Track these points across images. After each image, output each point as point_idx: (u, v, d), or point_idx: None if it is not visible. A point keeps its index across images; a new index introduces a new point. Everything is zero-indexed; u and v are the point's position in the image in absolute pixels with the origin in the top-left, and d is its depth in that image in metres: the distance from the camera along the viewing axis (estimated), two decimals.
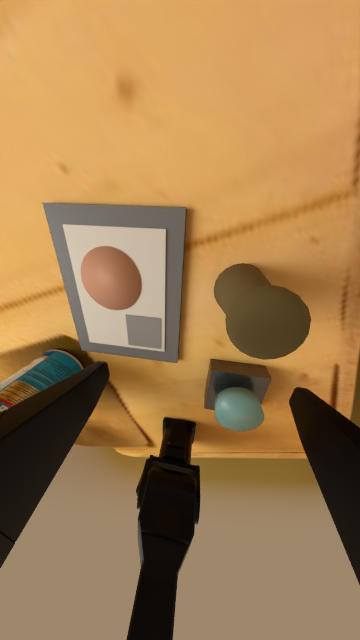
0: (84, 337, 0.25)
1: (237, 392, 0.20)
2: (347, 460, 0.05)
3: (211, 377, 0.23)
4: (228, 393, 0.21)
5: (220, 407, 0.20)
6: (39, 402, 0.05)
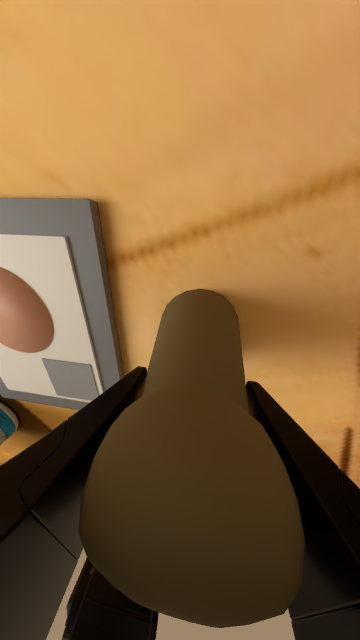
0: (1, 383, 0.18)
1: None
2: None
3: None
4: None
5: None
6: (97, 412, 0.05)
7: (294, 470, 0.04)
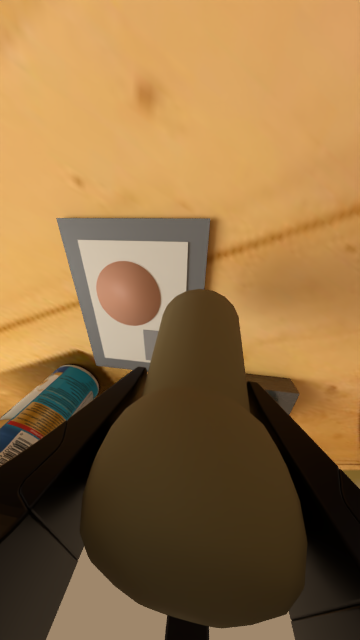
0: (100, 353, 0.24)
1: None
2: None
3: None
4: None
5: None
6: (97, 412, 0.05)
7: (294, 470, 0.04)
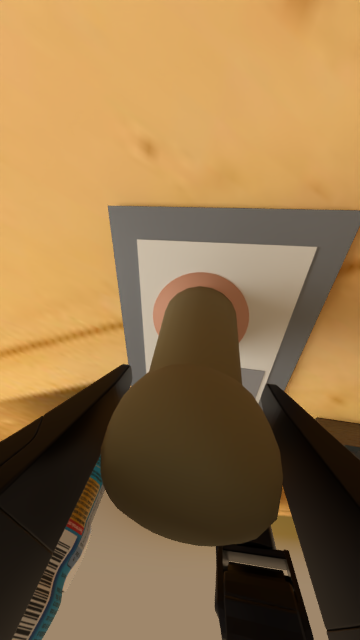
0: None
1: None
2: (301, 452, 0.05)
3: None
4: None
5: None
6: (74, 408, 0.05)
7: (329, 476, 0.04)
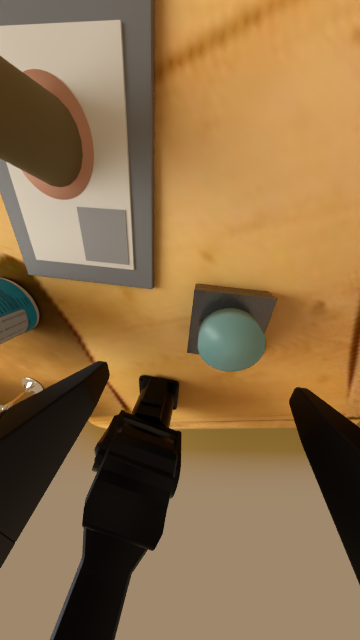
0: (29, 253, 0.19)
1: (229, 311, 0.14)
2: (347, 460, 0.05)
3: (195, 301, 0.17)
4: (216, 314, 0.15)
5: (205, 332, 0.14)
6: (39, 402, 0.05)
7: None
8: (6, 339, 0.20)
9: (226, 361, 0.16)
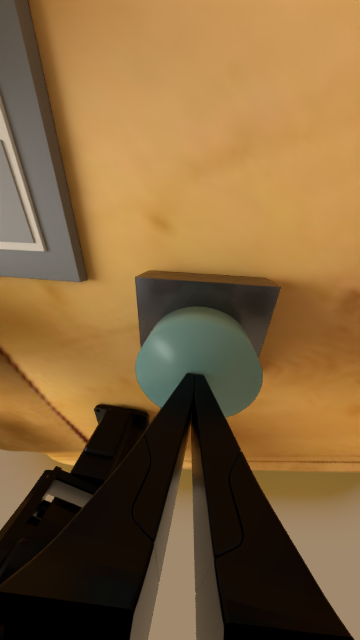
0: None
1: (190, 312, 0.08)
2: (196, 434, 0.05)
3: (140, 298, 0.10)
4: (167, 319, 0.08)
5: (143, 354, 0.07)
6: (170, 424, 0.05)
7: (200, 453, 0.04)
8: None
9: None
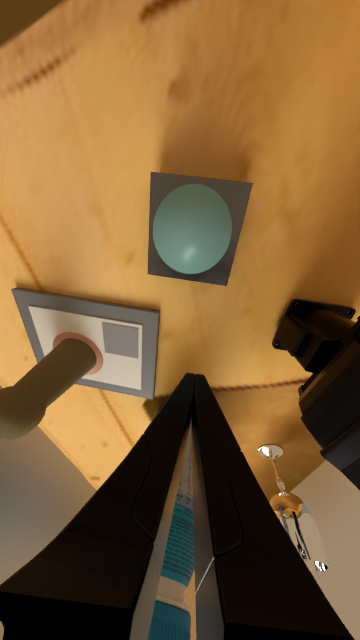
0: (137, 391, 0.27)
1: None
2: (196, 434, 0.05)
3: (160, 273, 0.16)
4: None
5: (173, 265, 0.13)
6: (170, 424, 0.05)
7: (200, 453, 0.04)
8: None
9: (214, 236, 0.12)
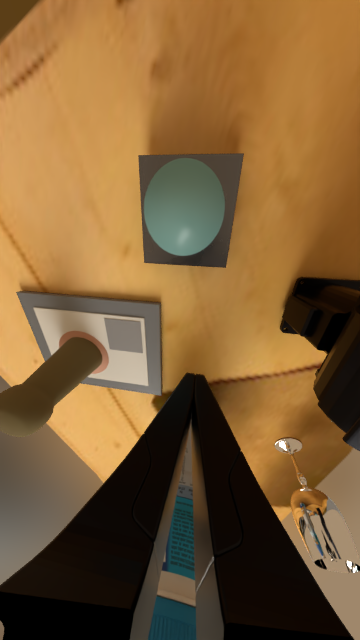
0: (145, 388, 0.26)
1: None
2: (196, 434, 0.05)
3: (156, 261, 0.16)
4: None
5: (167, 248, 0.13)
6: (170, 424, 0.05)
7: (200, 453, 0.04)
8: None
9: (207, 212, 0.12)
